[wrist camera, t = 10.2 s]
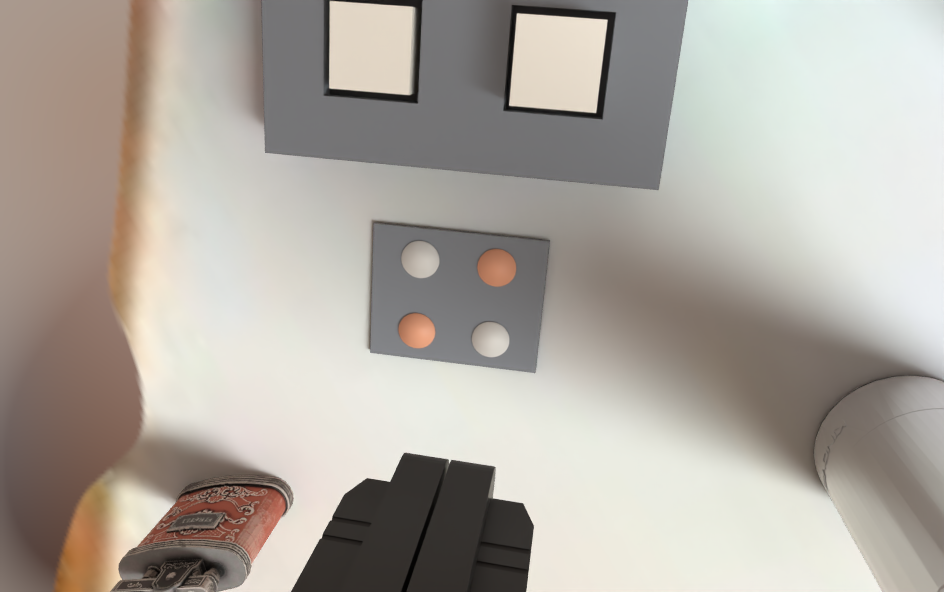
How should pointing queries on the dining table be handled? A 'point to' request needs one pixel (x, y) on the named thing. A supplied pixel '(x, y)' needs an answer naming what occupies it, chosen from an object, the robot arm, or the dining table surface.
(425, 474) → the robot arm
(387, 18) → the button
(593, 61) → the button
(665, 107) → the button box
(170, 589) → the lighter
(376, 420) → the dining table surface
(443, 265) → the pattern card
